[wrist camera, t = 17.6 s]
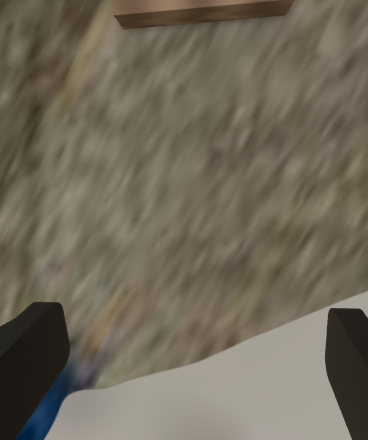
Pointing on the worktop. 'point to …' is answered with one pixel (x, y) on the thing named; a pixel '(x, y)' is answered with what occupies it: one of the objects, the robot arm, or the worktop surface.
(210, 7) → the walnut base
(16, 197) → the worktop surface
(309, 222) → the worktop surface
